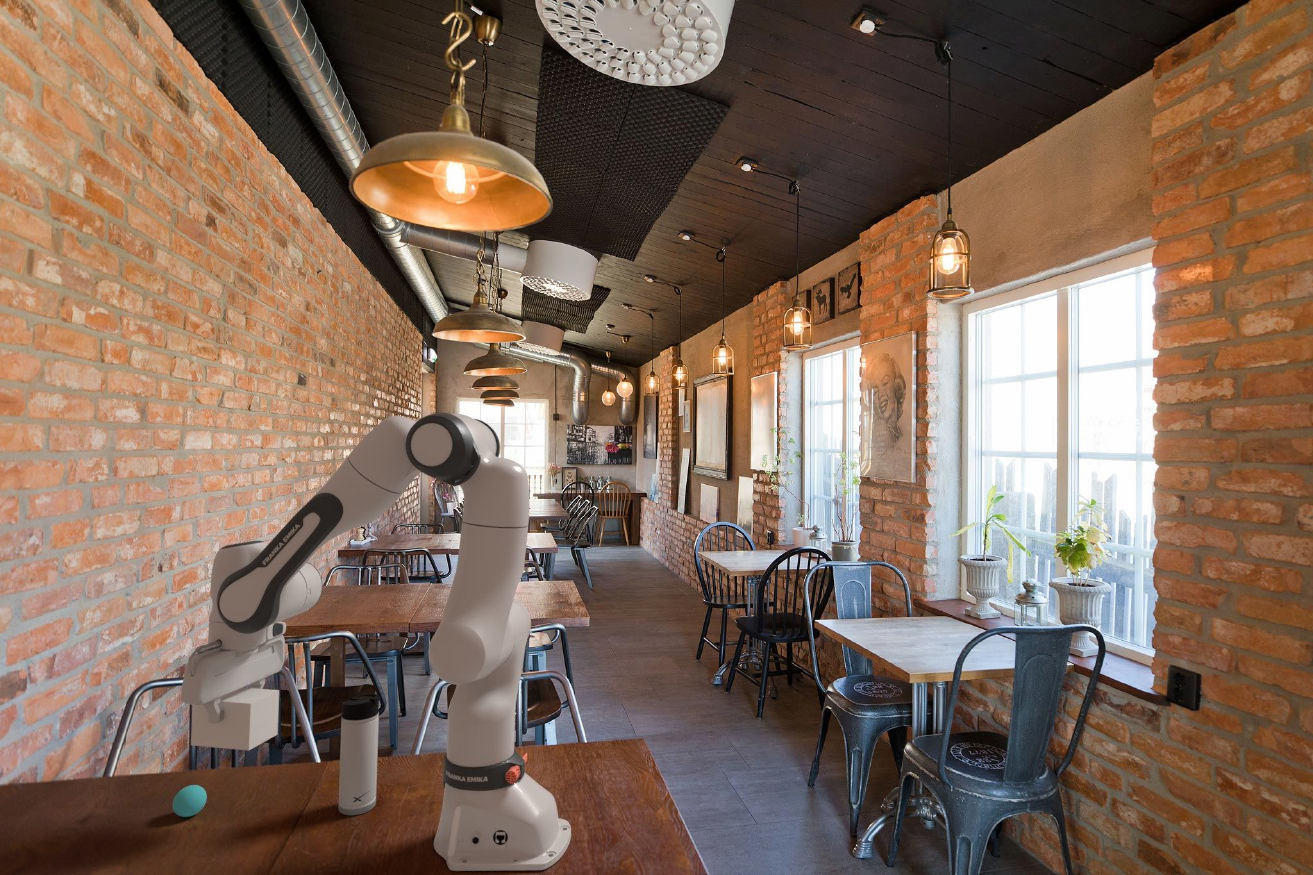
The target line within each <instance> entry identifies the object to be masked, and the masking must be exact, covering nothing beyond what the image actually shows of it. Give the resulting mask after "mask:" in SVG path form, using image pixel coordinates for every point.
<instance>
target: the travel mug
mask: <svg viewBox="0 0 1313 875" xmlns="http://www.w3.org/2000/svg"><path fill="white" fill-rule="evenodd" d="M380 701H381V695H379V694H377V693H366V694H361V695H356V696H352V697H350V698H349V699H348V700H345V701H343V702H342V703H341V704H342V705H341V706H342V707H341V711H342V712H341V721H340V722H341V724H340V726H341V727H340V747H339V748H340V752H339V753H340V754H339V756H340V757H339V780H338V782H339V783H338V811H339V813H340V814H342V815H345V816H358V815H359V816H360V815H363V814H365V813H368V812H370V811H371V810H373V809H374V808H375V807H376V805H377V803H376V802H377V785H378V784H377V779H378V778H377V777H378V755H379V754H378V748H379V719H380V718H379V716H380V713H379V710H380V709H379V706H380Z"/></svg>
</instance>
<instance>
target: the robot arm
mask: <svg viewBox="0 0 1313 875" xmlns="http://www.w3.org/2000/svg"><path fill="white" fill-rule="evenodd" d="M500 454H501V442H500V439H499V436H498V435H497V433H496V431H495V430H494V428H492V427H491V426H490V425H489V424H488V423H487V422H485V421H483V420H481V419H478V418H472V417H471V416H468V415H465V414H462V413H450V412H449V413H448V412H434V413H431V414H427V415H424V416H423V417H421V418H419V419H418V420H417V421H415V420H413V419H411V418H410V417H407V416H401V415H391V416H388V417H386V418H384V419H383V420H381V421H380V422H379V423H378V424H377V425H376V426H374V428H372V429H371V431H369V432H368V433H367V434H366V435H365V436H363V438H362V439H361V440H360V441H359V442H358V443H357V445H356V446H355V447H354V448H353V449H352V451H351V452H349V455H348V456H347V457H346V458H345V460H344V461H343V462H342V464H341V465H340V466H339V467H338V468H337V470H336V471H335V472H334V473H333V474H332V476H330V478H329V479H328V480H327V481H326V483H324V485H323V486H322V487H321V488H320V489H319V490H318V491H317V492H316V493H315V494H314V495H313V496H312V497H311V498H310V500H308V501H307V503H305V504H304V505H303V507H301V509H299V510H298V511H297V512H296V513H295V515H294V516H292V518H290V519H289V521H288V522H287V523H286V524H285V525H284V526H283V527H282V529H281V530H280V531H279V532H278V533H277V534H276V535H275V536H274V537H273V539H272V540H271V541H270V542H269V543H267V542H266V541H265V540H264V541H262V540H251V541H244V542H239V543H231V544H227V545H223V546H222V547H221V548H220V549H218V550H217V552H216V554H215V556H214V560H213V563H212V569H211V576H210V594H209V595H210V599H211V603H212V605H211V607H212V608H211V611H210V614H209V618H208V635H207V636H208V637H207V639H208V640H207V643H206V644H203V645H199V646H197V647H195V649H194V651H193V652H192V653H191V655H189V657H188V659H187V660H188V661H187V663H186V666H185V670H184V672H183V679H182V684H181V692H180V697H181V700H182V702H183V704H186V705H192V706H193V705H203V706H204V707H205V709H206V711H207V712H208V722H209V723H210V724H217V723H219V722H221V721H223V719H224V710H220V709H219V706H218V703H220V700H221V696H224V695H226V694H228V693H231V692H233V691H235V690H237V689H240V688H242V687H243V688H245V687H247V686H248V685H250V688H256V689H264V686H265V684H266V678H267V677H270V676H271V675H274V674H277V673H279V672H281V671H282V668H283V666H284V662H285V654H286V652H285V650H286V640H285V636H284V634H285V633H286V631H287V624H286V622H284V621H285V620H287V619H290V618H292V617H295V616H298V615H301V614H303V613H305V612H307V611H308V610H311V609H313V608H314V607H315V606H316V605H317V604H318V603H319V601H320V599H321V596H322V593H323V588H324V587H323V579H322V577H321V574H320V571H318V569H317V568H316V567H315V566H314V564H312V563H309V562H308V561H309V560H310V559H312V557H313V556H314V555H315V554H316V552H318V550H319V549H321V548H322V547H323V546H325V545H326V544H327V543H328V542H329V541H331V540H333V539H334V538H337V537H338V536H340V535H342V534H345V533H346V532H349V531H351V530H354V529H356V528H359V527H362V526H365V525H367V524H369V523H372V522H375V521H377V520H378V519H379V518H380V517H382V516H383V515H384V514H385V513H386V512H387V511H389V509H390V508H392V507H393V506H394V505H395V504H396V502H398V500H399V499H400V498H401V496H402V495H403V494H404V492H405V491H406V490H407V488H409V486H410V485H411V483H412V482H413V481H414V479H415V478H416V477H418V475H420V474H421V473H423V474H424V475H425V476H428V477H431V478H433V479H435V480H438V481H440V482H443V483H445V484H447V485H449V486H451V487H457V486H459V487H460V489H461V490H462V494H463V511H462V518H461V526H460V538H459V547H458V555H457V562H456V563H457V564H456V569H455V573H454V577H453V580H452V585H451V587H450V590H449V594H448V598H447V601H446V602H445V603H446V604H445V608H444V610H443V613H442V617H441V620H440V622H439V625H438V626H437V629H436V631H435V633H434V634H433V635H432V638H431V640H430V642H429V646H428V651H427V652H428V653H427V654H428V656H427V657H428V661H429V662H428V663H429V664H430V667H431V669H432V671H433V673H435V675H436V676H437V677H438V678H439V679H441V681H444V682H446V683H447V684H451V685H456V686H455V689H454V693H453V695H452V698H451V699H450V702H449V706H448V709H447V729H446V731H447V732H446V733H447V734H446V753H445V754H444V757H443V766H442V787H443V789H444V791H443V792H444V793H443V799H442V800H443V801H442V807H441V812H440V818H439V823H438V825H437V826H438V827H437V831H436V834H435V836H434V840H433V848H434V850H435V851H436V853H437V854H438V855H439V856H440V857H442V858H443V859H444V860H445V861H446V865H447V867H448V869H449V870H450V871H454V872H460V871H461V872H463V871H464V872H465V871H468V872H469V871H470V872H471V871H472V872H474V871H475V872H476V871H479V872H480V871H481V872H482V871H483V872H486V871H491V872H493V871H497V872H498V871H543V870H547V869H549V868H550V867H552V866H553V865H554V864H556V863H557V862H558V861H559V860H560V859H561V858H562V857H563V855H564V854H565V852H566V851H567V849H568V847H569V845H570V842H571V838H572V828H571V824H570V822H569V821H568V820H566V819H563V818H561V817H559V814H558V806H557V803H556V799H555V796H554V795H553V794H552V793H551V792H550V791H548V789H546V788H544V787H543V786H542V785H540V784H539V783H538V782H537V781H536V780H535V779H533V778H532V777H531V776H529V775H528V773H526V772H525V770H526V769H525V768H526V763H527V761H528V752H526V753H524V755H523V756H521V754H520V753H519V752H518V751H517V749H516V748H515V732H516V709H517V707H516V706H517V698H518V691H519V686H520V681H521V677H522V671H523V666H524V659H525V652H526V646H527V642H528V640H529V639H528V638H529V636H530V632H531V628H532V620H531V614H530V613H529V610H528V608H527V607H526V605H524V604H523V602H521V601H519V600H517V599H515V596H516V593H517V589H518V585H519V583H520V581H521V578H522V577H523V575H524V571H525V563H526V562H525V560H526V551H527V541H528V533H529V532H528V531H529V521H530V488H529V485H530V484H529V479H528V478H529V477H528V472H527V471H526V468H524V467H523V466H522V465H521V464H520V463H519V462H517V461H515V460H513V459H509V458H505V457H500Z"/></svg>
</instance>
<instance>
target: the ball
mask: <svg viewBox="0 0 1313 875" xmlns="http://www.w3.org/2000/svg"><path fill="white" fill-rule="evenodd" d="M207 798H208V796H207V791H206V790H205V788H204V787H202V786H200V785H198V784H191V785H187V786H185V787H183V788H182V789H180V790H179V791H178V792H177V793H176V794H175V796H174V798H173V800H172V809H173V812H174V814H176V815H177V816H179V817H182V818H188V817H189V818H190V817H192V816H195V815H196V814H198V813H199V812H200V811H201V810H202V809H203V808H204V806H205V805H206V803H207Z"/></svg>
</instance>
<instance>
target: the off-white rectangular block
mask: <svg viewBox="0 0 1313 875" xmlns="http://www.w3.org/2000/svg"><path fill="white" fill-rule="evenodd" d="M279 702H280V690H279V689H269V688H268V689H265V688H263V689H256V688H251V687H242V688H240V689H237V690H235V691H233V692H231V693H228V694H226V695H224V696H221V700H220V703H218V706H219V709H220V710H224V719H223V721H221V722H219V723H217V724H210V723H209V722H208V712H207V711H206V709H205V707H204V706H203V705H192V708H191V709H192V711H191V712H192V714H191V732H190V733H191V734H190V736H191V737H190V746H194V747H195V746H197V747H206V748H215V749H216V748H218V749H226V750H227V749H229V750H239V751H250V750H252V749H254V748H255V747H256V748H257V747H258V746H259V745H261V744H263V743H265V742H267V741H268V740H271V738H274V737H275V736H277V735H278V732H279V731H278V727H279Z"/></svg>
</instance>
